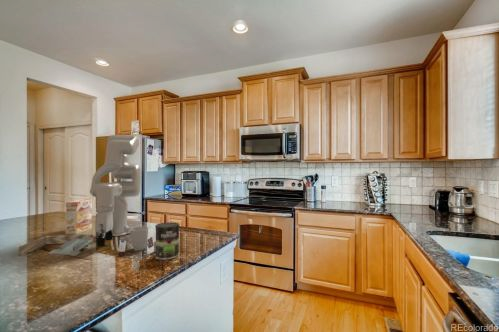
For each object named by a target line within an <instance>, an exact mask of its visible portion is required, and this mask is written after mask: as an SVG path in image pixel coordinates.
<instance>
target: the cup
mask: <svg viewBox="0 0 499 332" xmlns="http://www.w3.org/2000/svg"><path fill="white" fill-rule="evenodd" d="M134 227H135V226H134ZM148 236H149V227H148V226H136V227H135V228H132V229H130V240H131V246H132V248H133V250H134V251H136V252H137V251H144V250H145V249H146V247H147V243H148V238H149V237H148Z"/></svg>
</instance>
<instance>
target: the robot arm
mask: <svg viewBox="0 0 499 332" xmlns="http://www.w3.org/2000/svg"><path fill="white" fill-rule="evenodd" d="M139 144H140V141H139V138H138V136H136V135H132V134H131V135H129V134H127V135H126V134H112V135H109V136H108V137H107V144H106V151H105V157H104V158H105V159H104V162H103V163H104V164H103V165H102V166H101V167H99V168H98V169H97V170H96V172H94V174H93V175H92V179H91V185H90V195H92V197H94V198H96V213H97V214H96V218H95V233H96V239H97V241H96V242H97V245H96V246H97V247H104V246H106V241H113V237H118V236H119V237H120V236H125V235H128V234H131V231H130V229H132V228H135V226H130V224H128V202H127V201H126V200H125V198H127V197H128V198H129V197H131V198H133V197H138V196H139V195H140V192H141V179H142V178H141V177H142V176H141V173H142V172H141V167H140V165H139V164H135V163H129V155H130V156H131V155H134V154H136V151H137V149H138V147H139ZM110 173H111V176H112V178H113V179H115V180H118V181H112V182H101V179H102V178H103V177H104V176H106V175H108V174H110ZM120 180H121V181H120ZM128 180H129V181H128Z"/></svg>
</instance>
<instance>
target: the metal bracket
mask: <svg viewBox="0 0 499 332" xmlns="http://www.w3.org/2000/svg"><path fill="white" fill-rule="evenodd" d="M92 241H93V242H94V239H93V240H88V238H86V239H85V237H83V238H82V239H76V238H73V239H72V240H71V241H68V242H66V243H62V244H61V245H60V246H59V248H58V249H52V250H51V251H50V252H48V254H49V255H62V256H64V255H65V256H72V257H73V256H74V257H75V256H78V255H79V254H80V253H82V251H81V250H82V249H83V248H85V247H89V244H91V243H93V242H92Z"/></svg>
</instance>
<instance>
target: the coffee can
mask: <svg viewBox="0 0 499 332" xmlns="http://www.w3.org/2000/svg"><path fill="white" fill-rule="evenodd" d="M179 247H180V223H179V222H173V221H172V222H161V223H158V224H155V259H157V260H163V261H165V260H172V259H175V258H178V257H179V255H180V253H179V251H180V248H179Z"/></svg>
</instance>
